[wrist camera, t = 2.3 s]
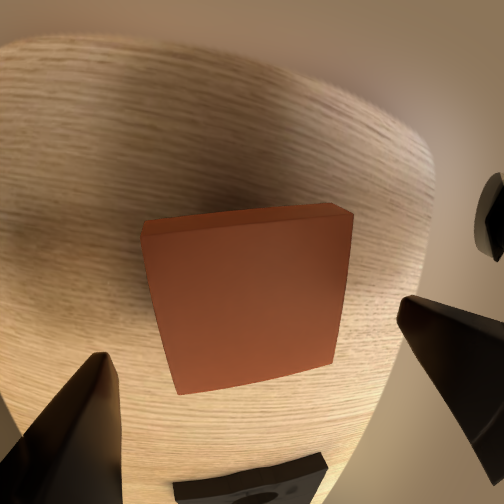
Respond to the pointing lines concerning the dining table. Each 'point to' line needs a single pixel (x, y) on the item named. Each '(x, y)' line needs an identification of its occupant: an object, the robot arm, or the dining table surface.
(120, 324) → the dining table surface
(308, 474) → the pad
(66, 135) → the dining table surface
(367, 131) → the dining table surface
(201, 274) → the reddish orange rectangular block
